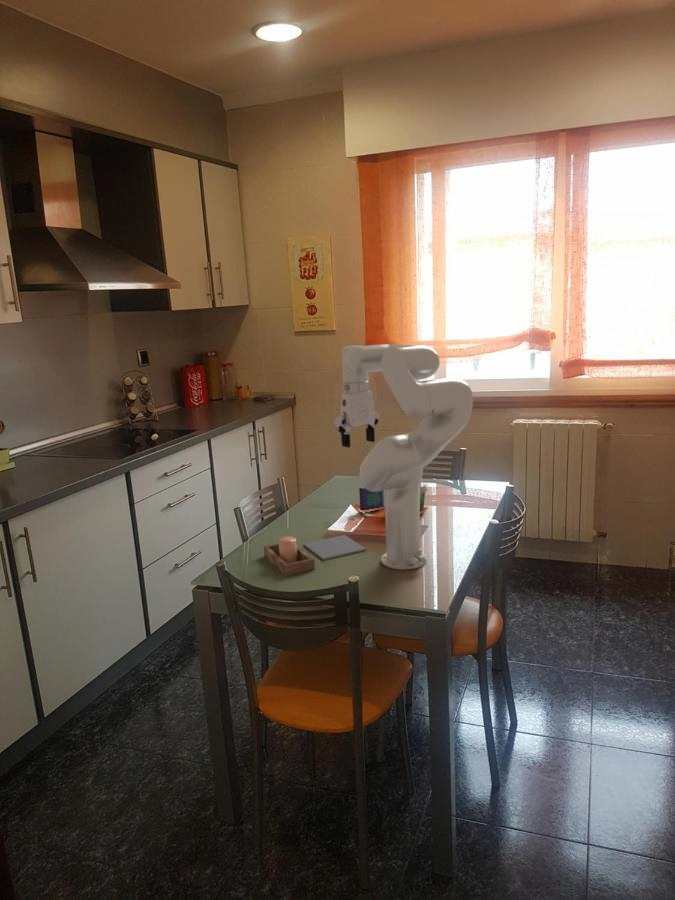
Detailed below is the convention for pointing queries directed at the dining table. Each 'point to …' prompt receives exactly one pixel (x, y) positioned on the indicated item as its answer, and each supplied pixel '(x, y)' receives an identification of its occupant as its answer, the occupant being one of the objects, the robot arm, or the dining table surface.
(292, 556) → the clay cylinder
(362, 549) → the rubber mat
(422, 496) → the food container
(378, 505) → the flask
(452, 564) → the dining table surface
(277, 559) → the pocket frame
